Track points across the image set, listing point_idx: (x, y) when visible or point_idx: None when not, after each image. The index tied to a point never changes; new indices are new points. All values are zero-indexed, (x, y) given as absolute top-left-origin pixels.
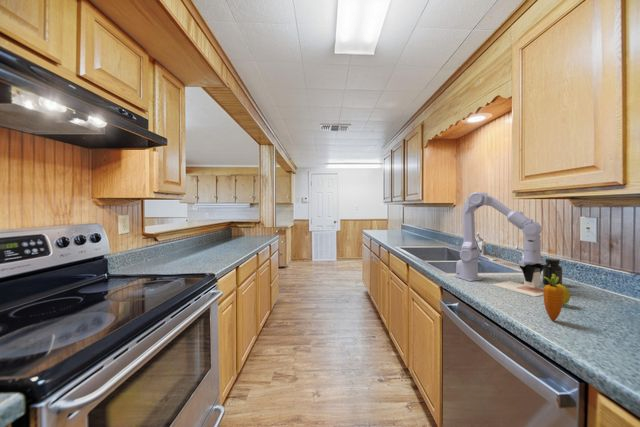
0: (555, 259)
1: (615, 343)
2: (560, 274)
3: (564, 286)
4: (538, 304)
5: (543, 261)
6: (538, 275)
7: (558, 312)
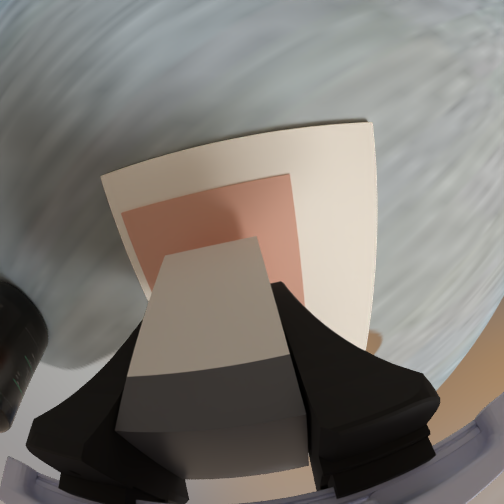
0: None
1: None
2: None
3: None
4: (452, 44)
5: (16, 485)
6: (171, 331)
7: None
